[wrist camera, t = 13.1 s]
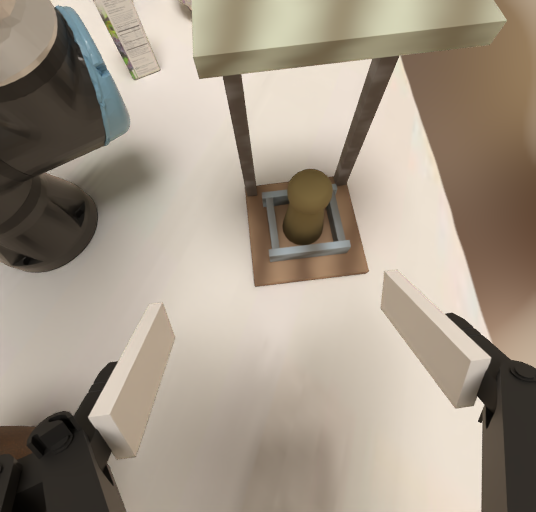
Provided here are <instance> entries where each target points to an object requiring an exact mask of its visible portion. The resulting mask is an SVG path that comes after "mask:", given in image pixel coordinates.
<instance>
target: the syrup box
mask: <svg viewBox="0 0 536 512" xmlns="http://www.w3.org/2000/svg"><path fill="white" fill-rule="evenodd" d="M93 1H94V3H95V5H96V7H97V9H98V11H99V13H100V15H101V17H102V19H103V21H104V23H105V25H106V27H107V29H108V31H109V33H110V35H111V37H112V39H113V41H114V43H115V44H116V46H117V48H118V50H119V52H120V54H121V56H122V58H123V60H124V62H125V64H126V66H127V67H128V69H129V71H130V73H131V75H132V77H133V79H134V80H136V79H139V78H141V77H144V76H147V75H149V74H152V73H154V72H157V71H159V70H160V68H159V66H158V63H157V61H156V58H155V56H154V53H153V51H152V48H151V46H150V43H149V41H148V39H147V36H146V34H145V31H144V29H143V26H142V24H141V21H140V19H139V16H138V14H137V11H136V9H135V7H134V4H133V2H132V0H93Z"/></svg>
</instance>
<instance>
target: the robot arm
mask: <svg viewBox="0 0 536 512" xmlns="http://www.w3.org/2000/svg"><path fill="white" fill-rule="evenodd" d="M129 127H130V117H129V114H128V111H127V108H126V106H125V104H124V102H123V99H122V97H121V95H120V93H119V91H118V88H117V86H116V84H115V82H114V80H113V78H112V76H111V74H110V73H109V71H108V70H107V68H106V65H105V63H104V61H103V59H102V57H101V54H100V53H99V51H98V49H97V47H96V45H95V43H94V41H93V39H92V38H91V36H90V34H89V32H88V30H87V29H86V27H85V25H84V23H83V22H82V20H81V19H80V17H79V15H78V14H77V13H76V12H75V10H74V9H72V8H71V7H67V6H65V7H62V6H59V5H58V6H56V7H55V8H54V6H53V5H52V3H51V1H50V0H0V262H2V263H4V264H6V265H8V266H10V267H13V268H17V269H20V270H23V271H27V272H44V271H49V270H53V269H56V268H58V267H60V266H62V265H64V264H66V263H68V262H69V261H71V260H72V259H74V258H75V257H76V256H77V255H78V254H79V253H81V252H82V250H83V249H84V248H85V247H86V246H87V244H88V243H89V241H90V240H91V238H92V236H93V234H94V232H95V229H96V225H97V209H96V206H95V203H94V201H93V200H92V198H91V197H90V196H89V195H88V194H87V193H85V192H84V191H83V190H82V189H80V188H79V187H78V186H76V185H75V184H73V183H71V182H69V181H66V180H64V179H61V178H58V177H55V176H53V175H50V174H47V173H45V172H47V171H49V170H52V169H54V168H56V167H58V166H60V165H63V164H65V163H67V162H69V161H71V160H74V159H76V158H78V157H80V156H83V155H85V154H87V153H89V152H91V151H94V150H96V149H98V148H100V147H102V146H106V145H108V144H109V142H110V141H112V140H114V139H116V138H117V137H119V136H121V135H123V134H124V133H126V132H127V131H128V129H129ZM381 310H382V311H383V312H384V314H385V315H386V316H387V318H388V319H389V320H390V322H391V323H392V324H393V326H394V327H395V328H396V330H397V331H398V332H399V334H400V335H401V336H402V338H403V339H404V340H405V342H406V343H407V344H408V346H409V347H410V349H411V350H412V351H413V353H414V354H415V355H416V357H417V358H418V359H419V361H420V362H421V363H422V365H423V366H424V367H425V369H426V370H427V371H428V373H429V374H430V375H431V377H432V378H433V379H434V381H435V382H436V383H437V385H438V386H439V387H440V389H441V390H442V391H443V393H444V394H445V395H446V397H447V398H448V399H449V401H450V402H451V403H452V405H453V406H454V407H455V409H456V408H463V407H469V406H474V403H475V401H476V398H477V396H478V397H479V399H480V400H481V401H482V402H483V403H484V404H485V405H484V407H483V410H482V412H481V415H480V417H479V420H478V422H480V423H482V421H483V427H482V510H481V512H536V369H535V368H534V367H532V366H530V365H528V364H525V363H523V362H519V361H514V360H510V359H509V358H508V357H507V356H506V355H505V354H503V353H502V352H501V351H500V350H499V349H498V348H497V347H496V346H494V345H493V344H492V343H491V342H490V341H489V340H488V339H486V338H485V337H484V336H483V335H481V333H480V332H478V331H477V330H476V329H474V328H473V326H472V325H470V324H469V323H468V322H467V321H466V320H465V319H463V318H461V317H459V316H457V315H456V314H454V313H447V314H444V313H443V312H442V311H441V310H440V309H439V308H438V307H437V306H435V305H434V304H433V303H432V302H431V301H430V300H429V299H428V298H427V297H426V296H425V295H424V294H423V293H422V292H421V291H419V290H418V289H417V288H416V287H415V286H414V285H413V284H412V283H411V282H410V281H409V280H408V279H407V278H406V277H404V276H403V275H402V274H401V273H400V272H399V271H398V270H390V271H384V280H383V290H382V300H381ZM174 340H175V335H174V333H173V330H172V327H171V324H170V322H169V319H168V316H167V313H166V311H165V308H164V305H163V302H161V303H153V304H149V306H148V307H147V309H146V311H145V313H144V315H143V317H142V318H141V320H140V322H139V324H138V326H137V328H136V330H135V331H134V333H133V335H132V337H131V339H130V341H129V343H128V344H127V346H126V348H125V350H124V352H123V354H122V355H121V357H120V359H119V361H117V362H110V363H108V364H107V365H106V366H105V367H104V368H103V369H102V370H101V371H100V373H99V374H98V376H97V378H96V379H95V381H94V384H93V385H92V386H91V388H90V389H89V393H87V395H86V396H85V398H84V400H83V401H82V403H81V405H80V406H79V408H78V410H77V411H76V413H75V415H74V416H72V414H71V413H70V412H66V411H62V412H58V413H55V414H53V415H51V416H49V417H47V418H46V419H45V420H43V421H42V422H41V423H39V425H38V426H37V427H36V428H35V429H34V430H33V431H32V432H31V434H30V436H29V437H28V440H27V445H26V446H27V447H28V448H29V449H30V450H31V451H32V452H33V453H31V454H29V455H27V456H24V457H22V458H20V459H17V460H16V459H15V458H14V457H13V456H12V455H11V454H3V455H0V512H126V509H125V507H124V504H123V501H122V499H121V496H120V493H119V491H118V488H117V485H116V483H115V480H114V477H113V475H112V472H111V469H110V467H109V465H108V464H107V461H108V459H109V456H110V454H111V452H112V453H113V455H114V456H115V458H116V459H117V460H118V459H125V458H131V457H136V455H137V452H138V449H139V446H140V443H141V440H142V437H143V434H144V431H145V428H146V425H147V422H148V419H149V416H150V413H151V410H152V407H153V404H154V401H155V398H156V395H157V392H158V389H159V386H160V383H161V380H162V377H163V373H164V370H165V367H166V364H167V361H168V358H169V355H170V352H171V349H172V346H173V343H174Z"/></svg>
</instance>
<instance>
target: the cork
mask: <svg viewBox="0 0 536 512" xmlns="http://www.w3.org/2000/svg"><path fill="white" fill-rule="evenodd" d="M332 193H333V188H332V183H331V181H330V180H329V178H328V177H327V176H326V175H325V174H324V173H323V172H321V171H319V170H315V169H305V170H303V171H300V172H298V173H297V174H295V175H294V176H293V177H292V179H291V180H290V182H289V184H288V189H287V195H288V200H289V202H290V203H289V206H288V209H287V212H286V214H285V217H284V220H283V225H282V227H283V233H284V235H285V237H286V238H287V239H288V240H289V241H290V242H292V243H294V244H297V245H310V244H312V243H314V242H316V241H317V240H318V239H319V238H320V236H321V234H322V231H323V221H324V208H325V207H327V206H328V204H329V202H330V200H331V198H332Z"/></svg>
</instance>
